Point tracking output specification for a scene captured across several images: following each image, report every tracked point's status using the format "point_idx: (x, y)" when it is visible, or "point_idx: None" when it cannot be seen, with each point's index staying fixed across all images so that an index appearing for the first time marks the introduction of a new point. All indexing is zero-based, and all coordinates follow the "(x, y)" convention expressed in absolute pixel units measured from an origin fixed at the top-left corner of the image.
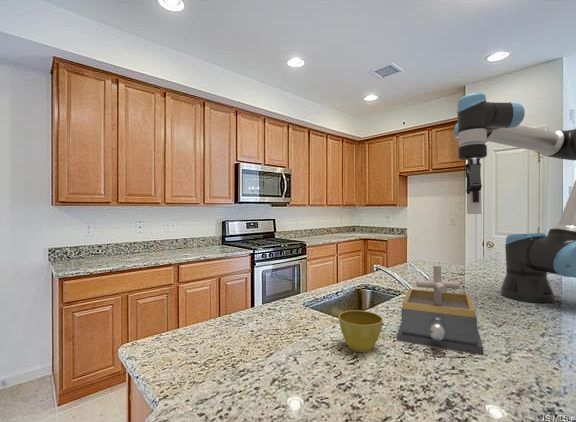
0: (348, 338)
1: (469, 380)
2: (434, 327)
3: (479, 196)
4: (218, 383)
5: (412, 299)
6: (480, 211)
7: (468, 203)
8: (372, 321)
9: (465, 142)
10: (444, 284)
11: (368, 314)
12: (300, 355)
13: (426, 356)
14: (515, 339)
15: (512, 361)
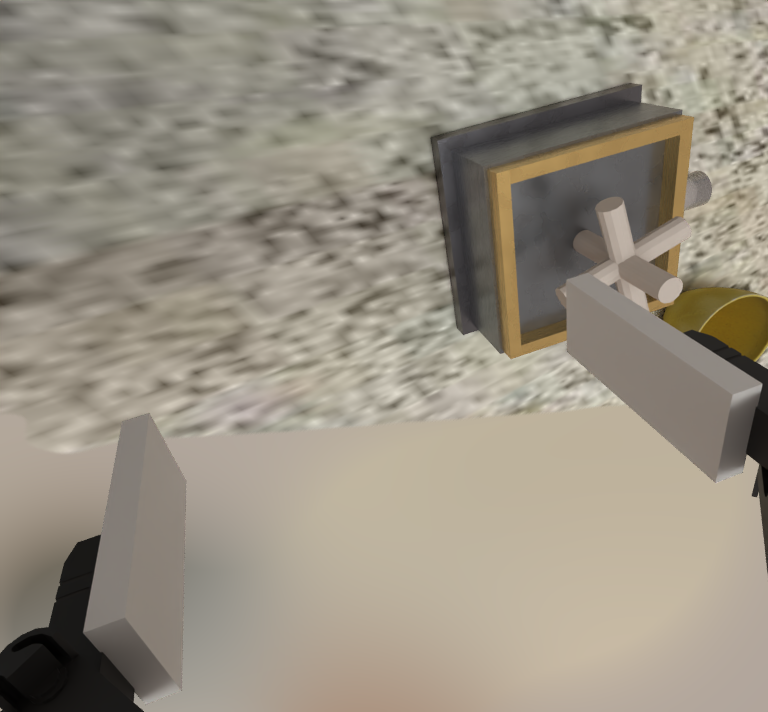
0: (732, 327)
1: (754, 89)
2: (709, 197)
3: (710, 362)
4: None
5: (564, 315)
6: (601, 286)
7: (177, 559)
8: (686, 327)
9: None
10: (632, 242)
11: None
12: None
13: None
14: (482, 8)
15: (642, 11)
